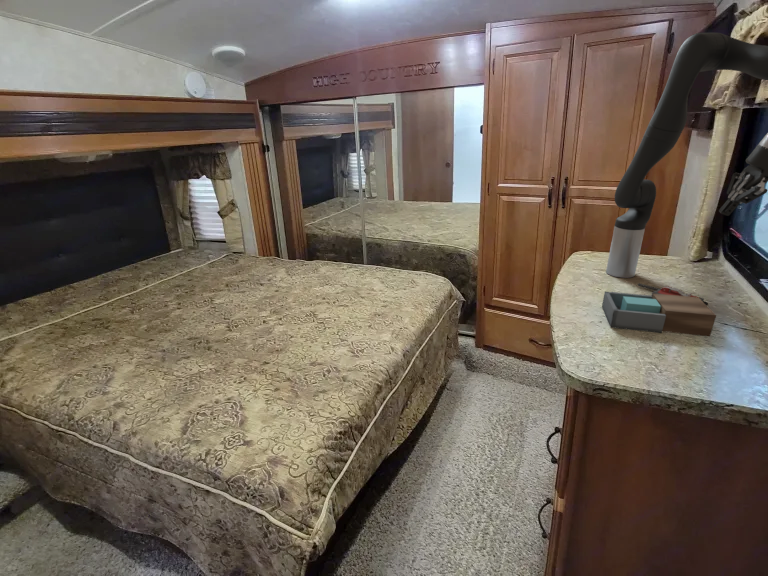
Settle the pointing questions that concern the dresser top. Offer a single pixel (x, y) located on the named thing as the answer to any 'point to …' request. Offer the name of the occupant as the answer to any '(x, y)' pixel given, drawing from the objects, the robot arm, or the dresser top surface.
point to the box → (630, 314)
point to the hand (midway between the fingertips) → (723, 213)
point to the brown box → (685, 314)
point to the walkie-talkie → (669, 291)
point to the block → (640, 305)
